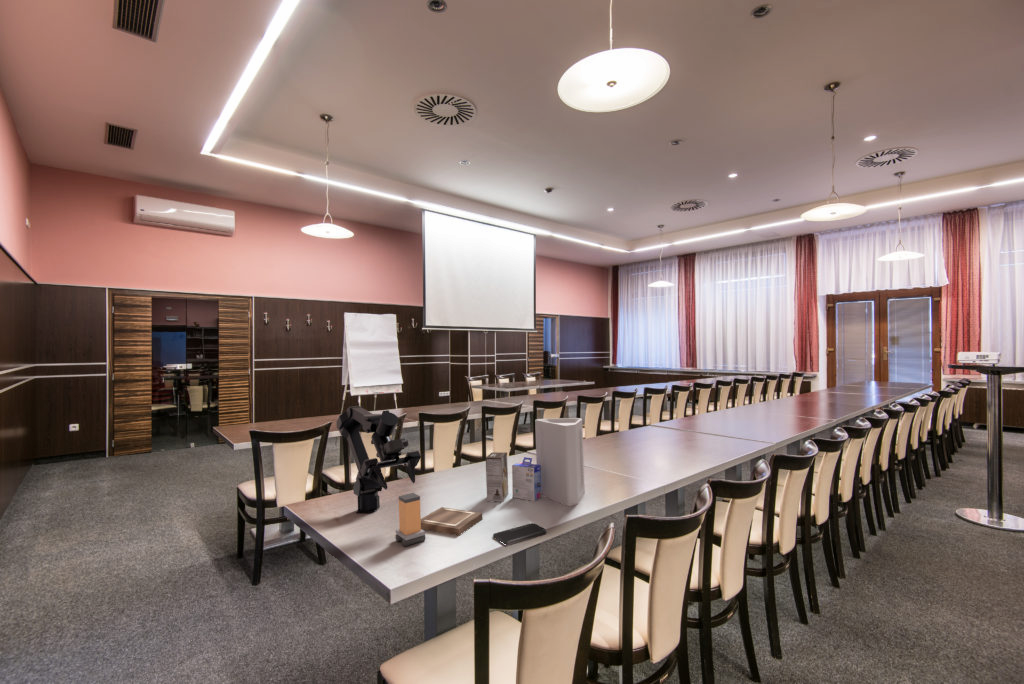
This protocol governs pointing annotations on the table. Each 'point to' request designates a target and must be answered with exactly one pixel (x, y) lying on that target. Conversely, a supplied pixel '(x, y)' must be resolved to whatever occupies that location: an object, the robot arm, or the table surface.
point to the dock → (450, 520)
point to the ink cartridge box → (526, 480)
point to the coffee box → (497, 476)
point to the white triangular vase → (561, 459)
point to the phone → (520, 533)
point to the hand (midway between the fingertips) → (400, 485)
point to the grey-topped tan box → (409, 520)
